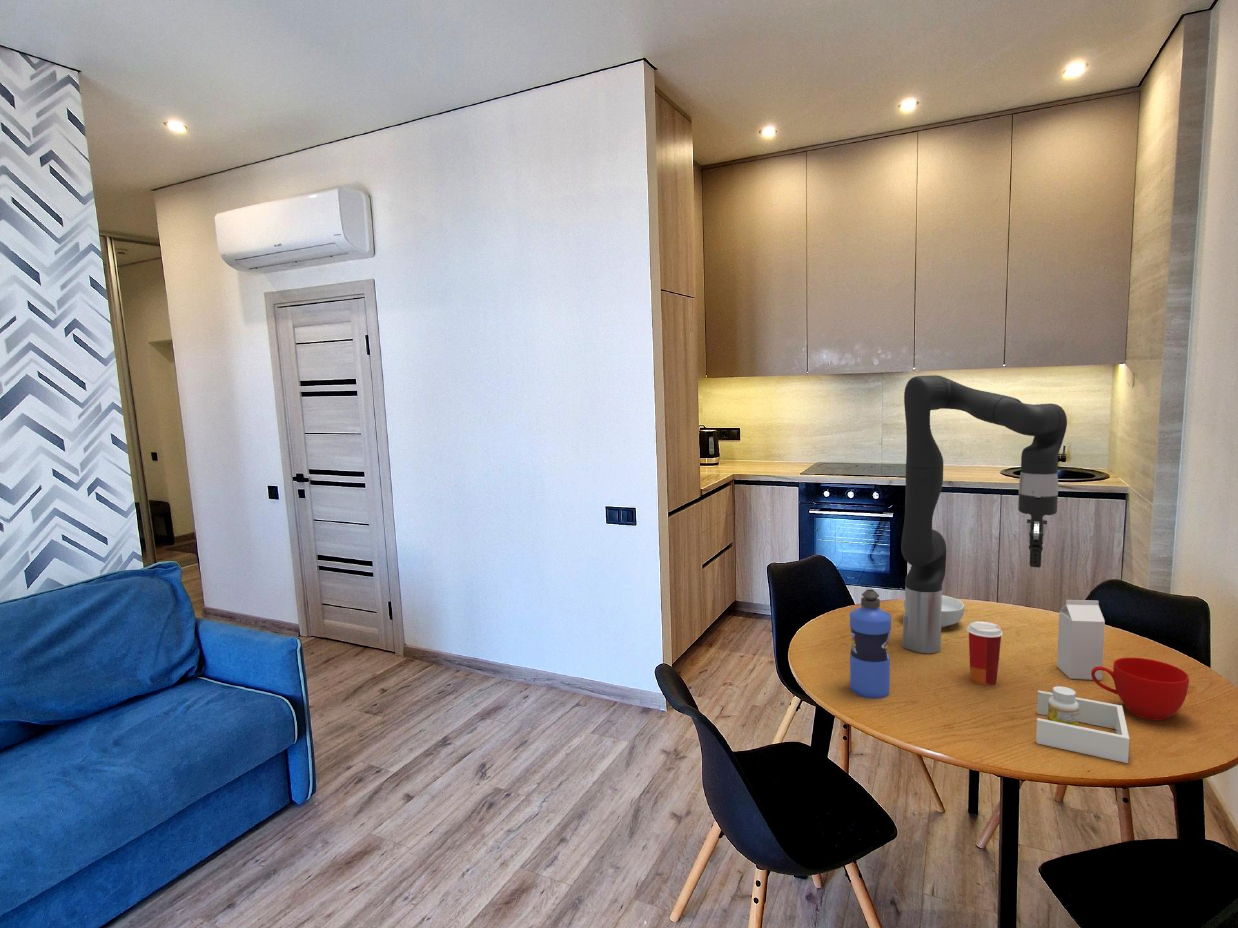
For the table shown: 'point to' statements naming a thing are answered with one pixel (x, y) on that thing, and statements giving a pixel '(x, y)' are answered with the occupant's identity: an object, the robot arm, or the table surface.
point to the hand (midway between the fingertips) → (1035, 566)
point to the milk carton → (1080, 639)
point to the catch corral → (1086, 729)
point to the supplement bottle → (1063, 706)
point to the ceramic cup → (1147, 686)
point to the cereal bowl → (950, 611)
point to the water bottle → (870, 648)
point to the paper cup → (984, 652)
